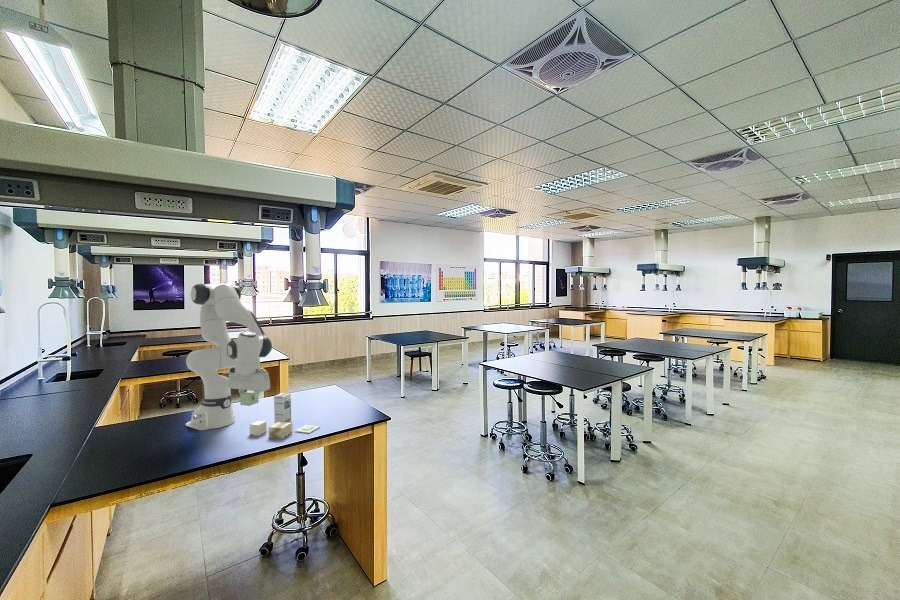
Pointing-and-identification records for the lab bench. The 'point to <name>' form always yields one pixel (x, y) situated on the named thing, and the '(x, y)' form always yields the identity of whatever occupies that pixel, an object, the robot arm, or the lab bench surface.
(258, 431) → the off-white block
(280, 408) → the syrup box
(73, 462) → the lab bench surface
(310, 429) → the tile
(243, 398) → the sage block
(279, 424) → the birch base block
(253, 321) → the robot arm
